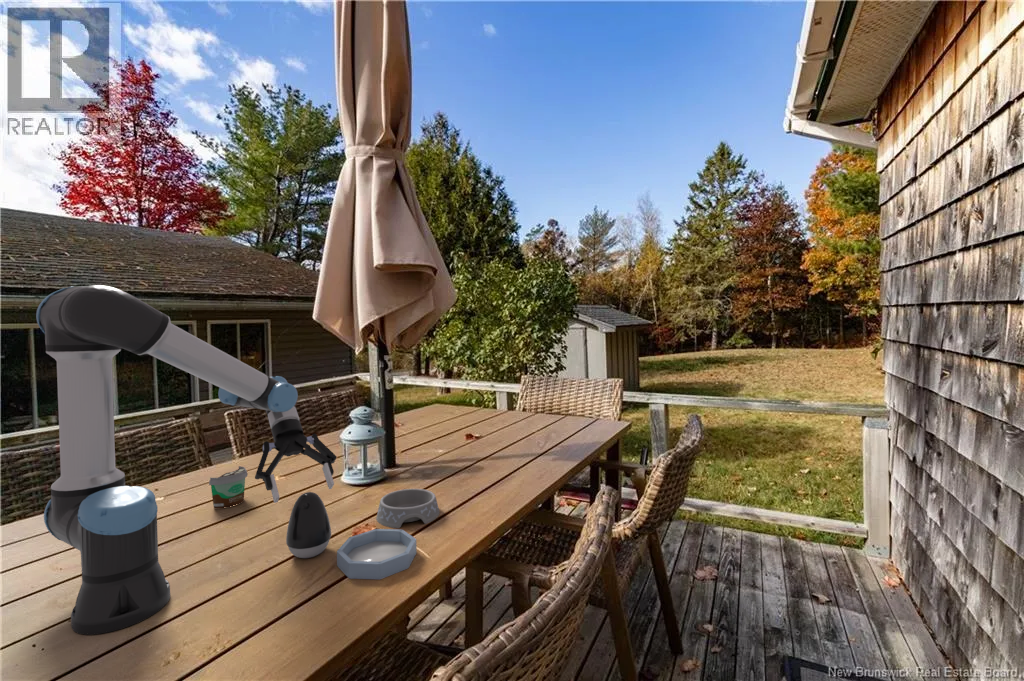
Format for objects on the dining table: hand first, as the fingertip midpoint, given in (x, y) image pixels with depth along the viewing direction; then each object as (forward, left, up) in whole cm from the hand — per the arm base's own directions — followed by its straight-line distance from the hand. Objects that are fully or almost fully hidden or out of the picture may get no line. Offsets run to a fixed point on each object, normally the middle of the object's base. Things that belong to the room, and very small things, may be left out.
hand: (305, 493), depth 120 cm
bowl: (-7, -22, -13) cm, 26 cm away
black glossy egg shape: (-5, -4, -13) cm, 15 cm away
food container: (+24, +35, -13) cm, 45 cm away
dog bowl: (+19, -22, -13) cm, 32 cm away
